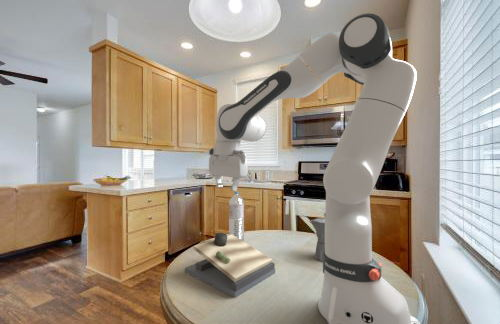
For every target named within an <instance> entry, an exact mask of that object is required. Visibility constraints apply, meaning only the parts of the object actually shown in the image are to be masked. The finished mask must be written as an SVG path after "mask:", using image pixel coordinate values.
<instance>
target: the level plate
mask: <svg viewBox="0 0 500 324" xmlns="http://www.w3.org/2000/svg"><path fill="white" fill-rule="evenodd" d="M193 250H194V251H196V252H197V253H198V254H199V255H200V256H201V257H203V258H204V260H205V259H207V260H208V261H209V262H210V263H212V264H213V265H214V266H215V267H217V268H218V269H219V270H220V271H222V272H223V273H224V274H225V275H227V276H228V277H229V278H230V279H232V280H233V281H234V282H236V281H238V280H240V279H242V278H244V277H246V276H247V275H249V274H251V273H253V272H255V271H257V270H259V269H260V268H262V267H264V266H266V265H268V264H270V263H271V262H272V261H273V259H272V258H271V257H270V256H268V255H265V254H264V253H263V252H261V251H259V250H257V249H256V248H254V247H253V246H251V245H249V244H248V243H246V242H245V241H244V242H243V241H242V240H240V239H239V238H237V237H235V236H234V235H232V234H231V235H229V234H228V235H227V234H226V233H223V232H216V233H215V235H214V239H213V240H210V241H206V242H203V243H200V244H196V245H194V246H193ZM272 263H273V262H272Z"/></svg>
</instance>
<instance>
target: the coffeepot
mask: <svg viewBox="0 0 500 324" xmlns="http://www.w3.org/2000/svg"><path fill="white" fill-rule="evenodd" d="M323 216H325V212H324V214H323ZM309 223H310V224H311V225H312V227H313V229H314V231H315V235H316V237H317V242H316V247H315V252H314V258H315V259H316V261H320V262H322V263H323V252H324V251H325V217H318V218H315V219H311V220H309Z"/></svg>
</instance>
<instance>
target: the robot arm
mask: <svg viewBox="0 0 500 324" xmlns="http://www.w3.org/2000/svg"><path fill="white" fill-rule="evenodd" d="M392 45H393V44H392V40H391V35H390V31H389V27H388V25H387V23H385V20H383V19H382V17H380V16H379V15H377V14H374V13H371V12H370V13H363V14H360V15H357V16H355V17H353V18H352V19H350V20H349V21H348V22H347V23H345V24H344V27H343V28H342V29H341V32H340V33H339V34H337V33H333V32H328V33H326V34H324V35H323V36H321V37H320V38H318V39H317V40H315V41H314V42H313V43H311V44H310V45H309V46H308V47H306V48H305V49H304V50H303V51H302V52H301V53H300V54H299V55H298V56H297V57H296V58H295V59H294V60H293V61H291V62H290V63H289V64H287V66H285V67H283V68H282V69H279V70H278V71H277V72H274V73H273V74H271V75H269V77H267V78H266V79H264V80H263V81H262V82H261V83H260V84H258V85H256V87H255V88H253V89H252V90H251V91H250V92H249V93H246V95H245V96H244V97H242V98H241V99H240V100H239V101H237V102H236V103H232V104H231V103H230V104H229V103H228V104H224V105H222V106H221V107H219V108H218V111H217V115H216V124H215V126H216V128H215V131H216V138H215V139H216V140H215V145H214V146H213V147H211V148H210V149H209V150H208V156H209V158H208V173H209V175H211V176H214V179H215V183H216V185H215V186H216V188H217V189H221V188H222V189H223V186H224V183H222V178H223V177H227V178H232V181H233V182H232V184H231V185H230V191H233V192H238V186H239V183H240V181H241V179H246V178H247V176H248V172H249V171H248V169H249V168H248V159H247V155H246V153H245V152H244V150H241V141H245V142H257V141H260V140H261V139H263V137H264V135H265V134H266V129H267V125H266V121H265V119H264V118H263V117H262V116H261V115H259V114H260V113H261V112H262V111H264V110H265V109H267V107H269V106H270V105H271V104H272V103H274V102H277V101H279V100H282V99H283V100H284V99H304V98H307V97H308V96H310V95H311V94H313V93H314V92H316V91H317V90H318V89H320V88H321V87H322V86H323V85H325V84H326V82H327V81H329V80H330V79H331V78H332V77H333V76H335V75H337V74H339V73H343V76H344V77H345V78H347V79H349V80H351V81H354V82H355V83H357V84H360V85H361V86H362V89H361V92H360V93H359V96H358V98H357V101H356V103H355V105H354V107H353V110H352V111H351V114H350V117H349V119H348V121H347V124H346V125H345V128H344V130H343V132H342V134H341V137H340V138H339V140H338V143H337V144H336V147H335V149H334V151H333V153H332V155H331V157H330V159H329V162H328V164H327V166H326V169H325V171H324V174H323V177H322V179H323V180H322V181H323V188H324V190H325V208H324V209H325V211H324V213H325V215H324V218H325V251H324V252H323V262H322V273H323V281H322V288H321V293H320V297H319V301H318V304H317V307H318V308H317V309H318V311H319V313H320V315H322V317H323V318H324V319H325V320H326V322H327V324H421V323H420V321H419V320H418V319H417V318H416V317H414V316H412V315H411V312H410V309H409V305H408V303H407V300H406V298H405V297H404V295H402V293H400V292H399V291H398V290H397V289H395V288H394V287H393V286H392V284H391V283H389V282H387V280H386V279H384V277H382V265H383V264H382V261H380V262H379V263H378V262H377V261H376V260H375V259H374V258H373V255H372V254H373V248H372V247H373V235H372V234H373V226H372V216H371V215H372V213H371V201H370V196H371V195H372V192H373V190H374V188H375V186H376V184H377V181H378V179H379V176H380V174H381V171H382V169H383V166H384V164H385V161H386V158H387V155H388V152H389V150H390V147H391V145H392V142H393V140H394V137H395V136H396V134H397V131H398V129H399V127H400V126H401V123H402V121H403V119H404V116H405V115H406V112H407V110H408V107H409V105H410V102H411V100H412V97H413V94H414V90H415V86H416V82H417V78H418V77H417V74H418V73H417V70H416V68H415V67H414V66H413V65H412V64H411V63H408V62H407V61H404V60H400V59H395V58H393V46H392Z"/></svg>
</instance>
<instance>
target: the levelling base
mask: <svg viewBox="0 0 500 324" xmlns="http://www.w3.org/2000/svg"><path fill="white" fill-rule="evenodd" d="M184 273H186V274H188V275H190V276H192V277H194V278H195V279H198V280H199V281H202V282H203V283H205V284H208V285H209V286H211V287H213V288H215V289H217V290H220V291H221V292H223V293H225V294H227V295H229V296H230V297H233V298H237V297H238V296H240V295H242V294H244V293H246V292H247V291H248V290H250V289H251V288H253V287H255V286H257V285H259V283H261V282H264V281H265V280H266V279H268V278H269V277H271V276H272V275H274V274H276V268H275V263H274V262H271V263H270V264H268V265H266V266H264V267H262V268H260V269H259V270H257V271H255V272H253V273H251V274H249V275H247V276H246V277H244V278H242V279H240V280H238V281H236V282H234V281H233V280H232V279H230V278H229V277H228V276H227V275H225V274H224V273H223V272H222V271H220V270H219V269H218V268H217V267H215V266H214V265H213V264H212V263H210V262H209V261H208V260H207V259H205V258H204V259H202V260H200V261H197V262H196V263H194V264H191V265H188V266H186V267H184Z"/></svg>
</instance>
